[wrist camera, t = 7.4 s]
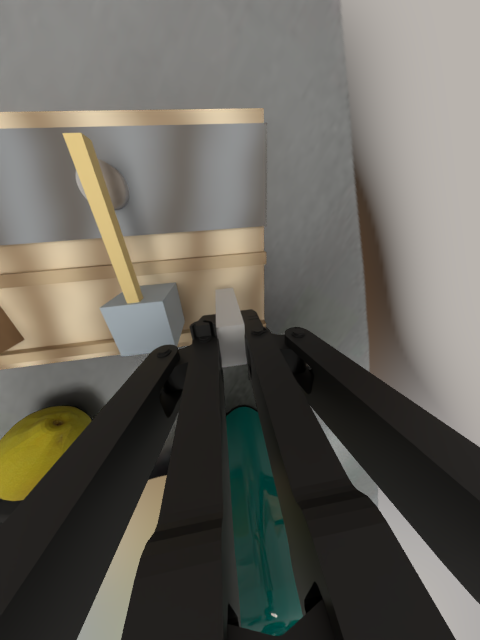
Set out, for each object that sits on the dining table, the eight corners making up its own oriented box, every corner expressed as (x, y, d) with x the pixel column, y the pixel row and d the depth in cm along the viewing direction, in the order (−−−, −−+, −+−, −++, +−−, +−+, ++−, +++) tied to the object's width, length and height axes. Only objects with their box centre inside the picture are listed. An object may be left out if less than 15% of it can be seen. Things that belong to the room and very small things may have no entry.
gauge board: (0, 363, 19) (-87, 418, 13) (-205, 126, 11) (-650, 18, 5) (261, 330, 21) (278, 365, 16) (259, 117, 13) (292, 37, 8)
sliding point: (143, 326, 18) (121, 356, 14) (86, 165, 12) (17, 130, 8) (184, 321, 18) (176, 349, 14) (147, 162, 12) (114, 128, 8)
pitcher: (204, 430, 28) (184, 869, 9) (241, 400, 26) (322, 881, 7) (246, 449, 32) (297, 782, 13) (282, 424, 30) (405, 773, 11)
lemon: (82, 444, 26) (34, 524, 19) (19, 424, 23) (-68, 511, 16) (126, 403, 24) (89, 477, 17) (62, 374, 21) (-18, 451, 13)
